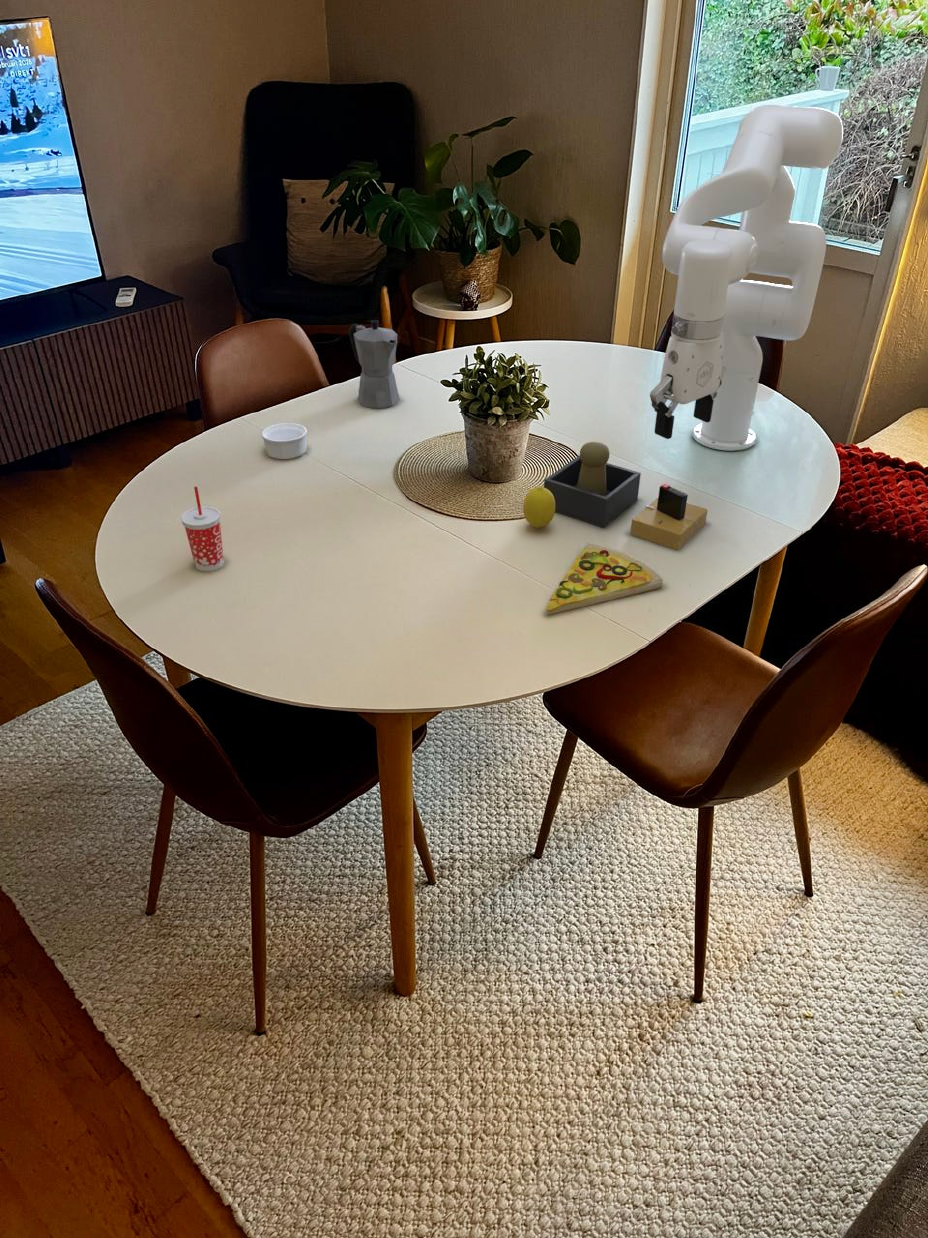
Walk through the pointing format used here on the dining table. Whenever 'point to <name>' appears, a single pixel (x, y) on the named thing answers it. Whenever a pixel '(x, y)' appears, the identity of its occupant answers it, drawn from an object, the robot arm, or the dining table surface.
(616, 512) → the sink basin
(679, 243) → the robot arm
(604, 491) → the cork
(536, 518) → the lemon
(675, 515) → the tap handle
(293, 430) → the ramekin
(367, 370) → the coffeepot
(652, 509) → the block
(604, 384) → the dining table surface
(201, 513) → the beverage cup
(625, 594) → the pizza slice
